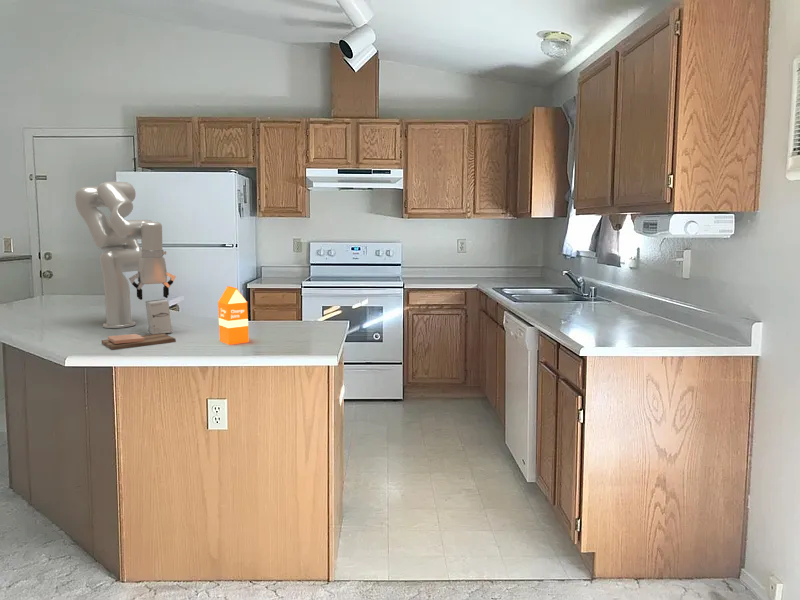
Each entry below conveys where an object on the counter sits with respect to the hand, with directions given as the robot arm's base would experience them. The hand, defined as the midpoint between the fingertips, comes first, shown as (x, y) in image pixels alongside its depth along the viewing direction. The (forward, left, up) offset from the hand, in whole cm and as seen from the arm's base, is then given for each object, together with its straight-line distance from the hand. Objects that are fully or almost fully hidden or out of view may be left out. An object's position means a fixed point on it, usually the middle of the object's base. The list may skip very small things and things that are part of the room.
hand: (153, 298), depth 261 cm
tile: (+16, -15, -11) cm, 25 cm away
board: (+16, -11, -14) cm, 24 cm away
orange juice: (+36, +17, -14) cm, 42 cm away
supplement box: (+2, +1, -14) cm, 14 cm away
